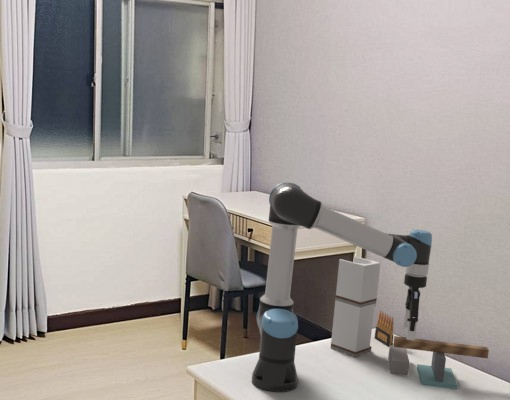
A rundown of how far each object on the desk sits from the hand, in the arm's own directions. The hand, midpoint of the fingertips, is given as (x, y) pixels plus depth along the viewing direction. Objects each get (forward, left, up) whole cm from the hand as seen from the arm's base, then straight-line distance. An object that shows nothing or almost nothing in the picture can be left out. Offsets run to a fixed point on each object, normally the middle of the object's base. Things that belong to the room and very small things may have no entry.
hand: (408, 333), depth 246 cm
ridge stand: (+11, 0, -15) cm, 19 cm away
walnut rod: (+11, 0, -5) cm, 12 cm away
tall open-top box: (-19, +19, -15) cm, 31 cm away
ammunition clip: (-6, +33, -15) cm, 37 cm away
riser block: (-2, +7, -15) cm, 17 cm away
